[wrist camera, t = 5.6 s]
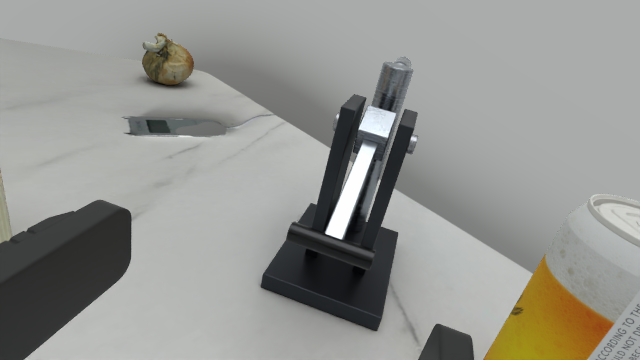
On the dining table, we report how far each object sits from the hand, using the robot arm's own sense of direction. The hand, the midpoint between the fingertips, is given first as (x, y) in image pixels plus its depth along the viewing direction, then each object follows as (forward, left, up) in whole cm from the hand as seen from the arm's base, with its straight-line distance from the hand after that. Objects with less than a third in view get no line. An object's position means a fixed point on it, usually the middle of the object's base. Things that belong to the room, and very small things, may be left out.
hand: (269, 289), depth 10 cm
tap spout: (+5, -27, -13) cm, 31 cm away
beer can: (-11, -12, -14) cm, 22 cm away
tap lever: (+3, -17, -5) cm, 18 cm away
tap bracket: (+3, -20, -14) cm, 25 cm away
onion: (+46, -44, -14) cm, 66 cm away
